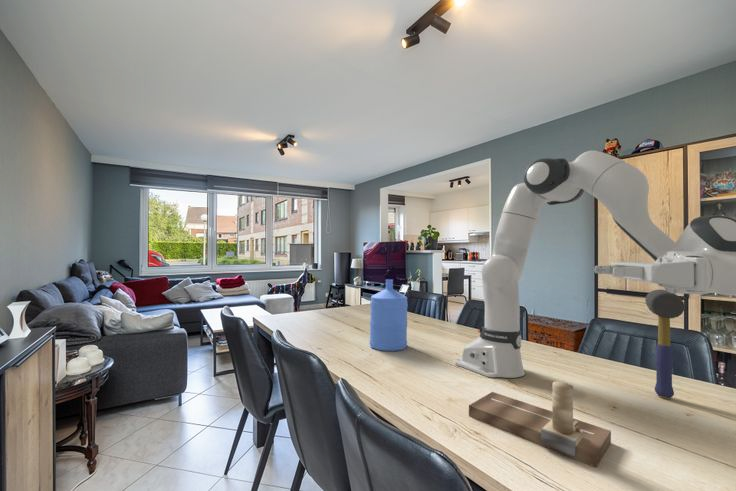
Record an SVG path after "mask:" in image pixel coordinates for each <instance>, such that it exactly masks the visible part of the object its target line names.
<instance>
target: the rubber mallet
mask: <svg viewBox="0 0 736 491" xmlns="http://www.w3.org/2000/svg"><path fill="white" fill-rule="evenodd" d="M645 305H646V306H647V308H648V309H649V311H650V312H651V313H652V314H655V316H658V317H657V325H658V326H657V328H658V329H657V332H658V333H657V344H656V347H655V356H654V363H655V369H656V379H655V380H656V382H655V387H654V391H655V393H656V394H657V396H658V397H659V398H662V399H666V400H671V399H672V398H673V397H674V395H675V391H674V388H673V369H674V356H673V349H672V346H671V319H674V318H678V317H680V316H682V314H683V313H684V311H685V308H686V307H685V302H684V301H683V299H682V298H681V297H680V296H678V295H677V293H670V292H668V291H667V290H665V289H655V290H651V291H650V292H648V293H647V294H646V295H645Z"/></svg>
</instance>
